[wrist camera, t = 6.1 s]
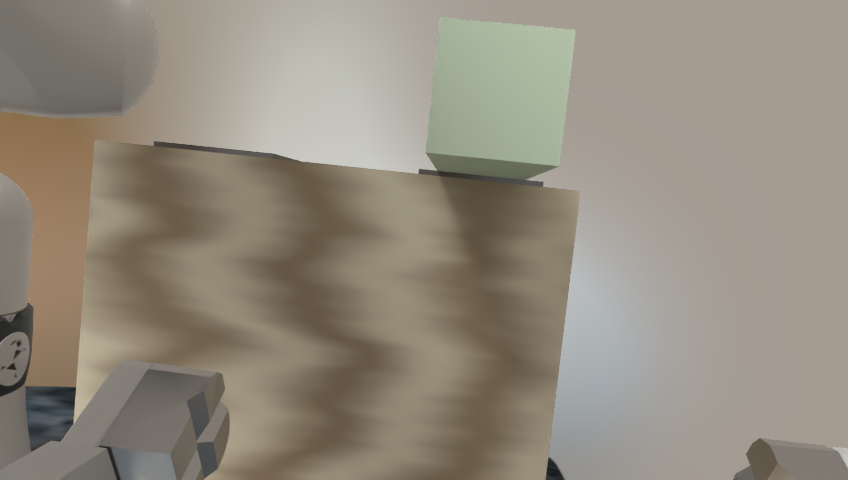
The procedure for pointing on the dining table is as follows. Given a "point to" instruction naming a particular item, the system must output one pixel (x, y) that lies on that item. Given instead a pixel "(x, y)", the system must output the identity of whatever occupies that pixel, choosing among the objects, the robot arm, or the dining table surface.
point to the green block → (499, 98)
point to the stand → (335, 307)
